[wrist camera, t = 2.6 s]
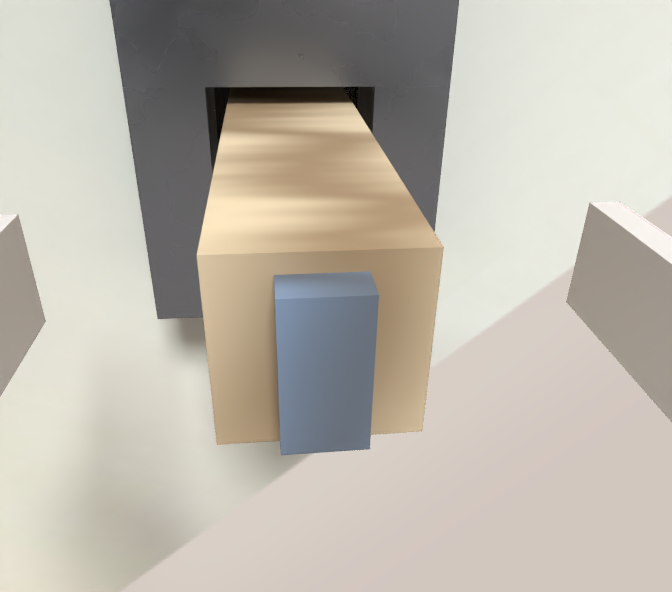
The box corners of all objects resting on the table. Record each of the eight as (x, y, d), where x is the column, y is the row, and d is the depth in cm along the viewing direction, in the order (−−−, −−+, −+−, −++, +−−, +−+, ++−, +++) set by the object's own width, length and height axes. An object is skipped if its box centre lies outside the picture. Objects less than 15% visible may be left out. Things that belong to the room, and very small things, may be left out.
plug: (237, 192, 24) (214, 476, 11) (230, 85, 22) (191, 278, 9) (339, 189, 24) (432, 460, 11) (341, 85, 22) (457, 269, 9)
